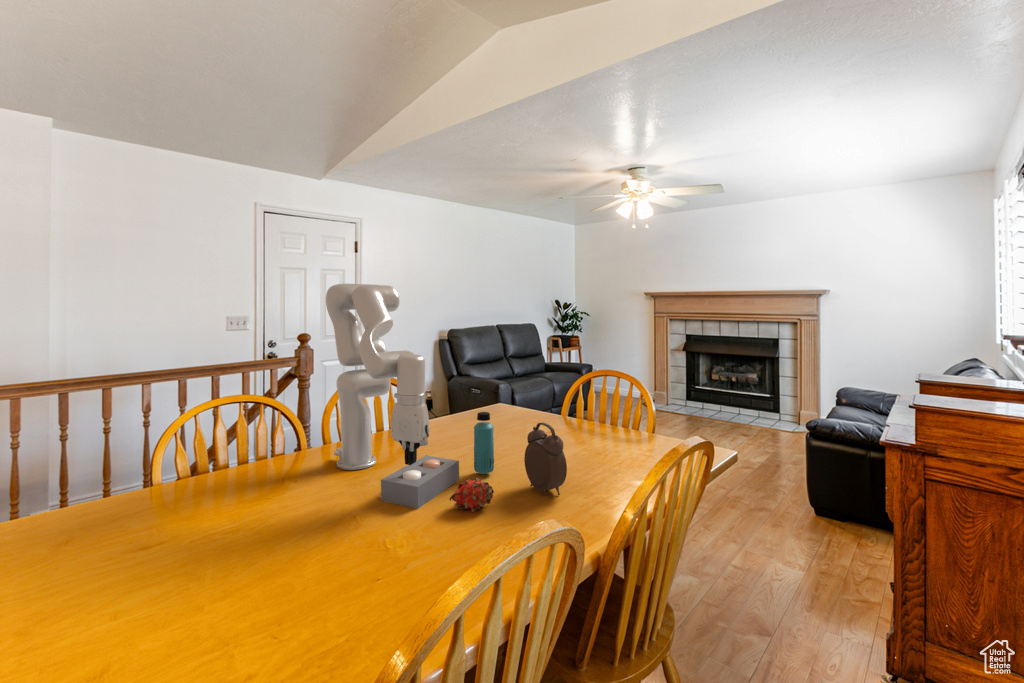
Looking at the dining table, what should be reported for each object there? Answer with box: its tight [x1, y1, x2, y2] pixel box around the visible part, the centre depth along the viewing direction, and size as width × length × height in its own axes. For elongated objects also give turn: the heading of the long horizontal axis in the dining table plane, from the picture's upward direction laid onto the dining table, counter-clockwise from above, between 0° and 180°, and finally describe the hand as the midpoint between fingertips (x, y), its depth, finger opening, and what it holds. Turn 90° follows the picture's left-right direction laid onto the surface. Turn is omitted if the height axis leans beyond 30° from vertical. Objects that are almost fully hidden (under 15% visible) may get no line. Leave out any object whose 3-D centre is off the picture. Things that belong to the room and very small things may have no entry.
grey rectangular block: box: [380, 455, 460, 510], centre depth 137 cm, size 12×22×6 cm, turn 157°
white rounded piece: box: [403, 470, 421, 481], centre depth 132 cm, size 5×5×4 cm
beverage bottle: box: [473, 411, 495, 474], centre depth 148 cm, size 6×7×20 cm
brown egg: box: [423, 459, 440, 469], centre depth 141 cm, size 5×5×4 cm
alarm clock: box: [523, 422, 568, 497], centre depth 136 cm, size 14×7×20 cm, turn 30°
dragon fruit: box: [449, 477, 495, 513], centre depth 125 cm, size 8×8×12 cm
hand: (410, 463), depth 132 cm, fingers closed
